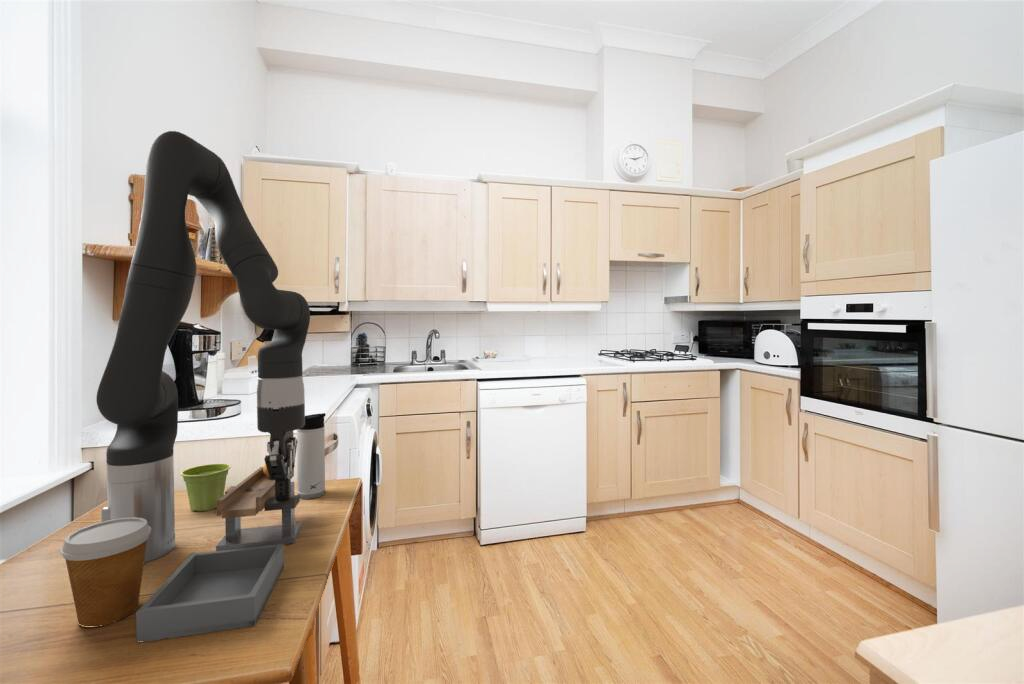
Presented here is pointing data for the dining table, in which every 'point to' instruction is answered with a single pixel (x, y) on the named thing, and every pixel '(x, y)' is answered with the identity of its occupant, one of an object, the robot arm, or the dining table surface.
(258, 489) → the lever
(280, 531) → the stand
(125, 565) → the disposable coffee cup
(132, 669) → the dining table surface
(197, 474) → the plant pot
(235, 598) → the bin
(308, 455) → the travel mug
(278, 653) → the dining table surface
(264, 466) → the ball
